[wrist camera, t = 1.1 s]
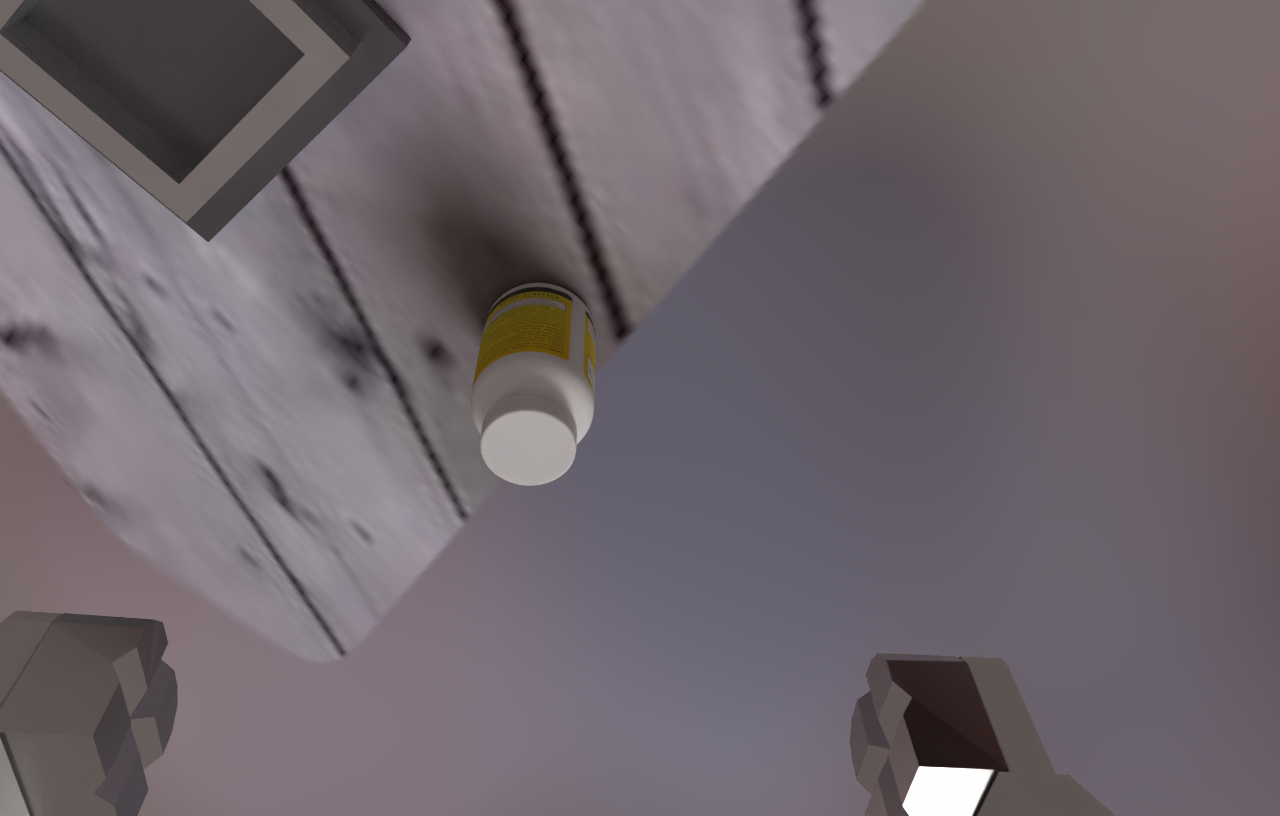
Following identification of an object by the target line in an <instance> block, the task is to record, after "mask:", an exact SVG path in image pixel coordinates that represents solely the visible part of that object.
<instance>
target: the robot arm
mask: <svg viewBox="0 0 1280 816" xmlns="http://www.w3.org/2000/svg"><path fill="white" fill-rule="evenodd" d="M167 645H168V640H167V636H166V632H165V629H164V625H163V622H161V621H157V620H151V619H137V618H123V617H109V616H95V615H81V614H68V613H67V614H66V613H64V614H60V613H59V614H58V613H44V612H30V611H29V612H28V611H15V612H14V613H12V614H11V615H10V616H8V617H7V618H5V619H4V620H3V621H2V622H1V623H0V816H138V813H139V811H140V809H141V806H142V804H143V802H144V799H145V797H146V795H147V792H148V786H147V782H146V778H145V773H144V769H145V768H146V767H148V766H149V765H150V764H151V763H153V762H154V761H155V760H157V759H158V758H159V757H160V756H162V755H163V754H164V751H165V748H166V746H167V743H168V741H169V738H170V736H171V733H172V730H173V725H174V720H175V715H176V710H177V681H176V676H175V671H174V670H173V669H172V668H171V667H170V666H169V665H167V664H166V663H165V662H164V661H163V660H161V658H162V656H163V653H164V651H165V649H166V647H167ZM866 677H867V681H868V684H869V688H870V691H869V692H868V693H866V694H865V695H864V696H862V697H861V698H859V699H858V700H857V702H856V706H855V709H854V713H853V716H852V720H851V735H850V746H851V756H852V762H853V766H854V771H855V776H856V780H857V781H858V782H859V783H860V784H862V786H863V787H864V788H865V789H866V790H867V791H868V792H869V793H870V794H871V798H870V801H869V803H868V806H867V809H866V812H865V816H1116V815H1115V814H1114V813H1113V812H1111V811H1110V810H1109V809H1108V808H1107V807H1106V806H1104V805H1103V804H1102V803H1101V802H1100V801H1099V800H1097V799H1096V798H1095V797H1094V796H1093V795H1092V794H1091V793H1089V792H1088V791H1087V790H1086V789H1085V788H1084V787H1082V786H1081V785H1080V784H1079V783H1078V782H1077V781H1075V780H1074V779H1073V778H1072V777H1071V776H1070V775H1063V774H1056V772H1055V769H1054V767H1053V765H1052V763H1051V760H1050V758H1049V756H1048V754H1047V751H1046V749H1045V747H1044V745H1043V742H1042V740H1041V738H1040V736H1039V733H1038V731H1037V729H1036V727H1035V724H1034V722H1033V720H1032V718H1031V716H1030V713H1029V711H1028V709H1027V706H1026V705H1025V702H1024V700H1023V697H1022V695H1021V693H1020V691H1019V689H1018V686H1017V684H1016V682H1015V679H1014V677H1013V675H1012V673H1011V670H1010V668H1009V666H1008V665H1007V664H1006V663H1005V662H1004V661H1003V660H1002V659H1001V658H982V657H955V656H941V655H913V654H884V653H877V654H876V655H875V657H874V658H873V659H872V660H871V662H870V665H869V667H868V670H867V673H866Z"/></svg>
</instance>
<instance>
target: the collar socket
mask: <svg viewBox="0 0 1280 816" xmlns="http://www.w3.org/2000/svg"><path fill="white" fill-rule="evenodd" d="M410 40H411V39H410V38H409V36H408V35H407V34H406V33H405V32H404V31H403V30H402V29H401V28H400V27H399V26H398V25H397V24H396V23H395V22H394V21H393V20H392V19H391V18H390V17H389V16H388V15H387V14H386V13H385V11H384V10H383V9H382V8H381V7H380V6H379V5H378V4H377V3H376V2H375V1H374V0H0V71H1V72H2V73H4V74H5V75H6V76H7V77H8V78H10V79H11V80H12V81H13V82H14V83H16V84H17V85H18V86H19V87H21V88H22V89H23V90H24V91H25V92H27V93H28V94H29V95H30V96H31V97H33V98H34V99H35V100H36V101H38V102H39V103H40V104H41V105H42V106H44V107H45V108H46V109H47V110H48V111H50V112H51V113H52V114H53V115H55V116H56V117H57V118H58V119H59V120H61V121H62V122H63V123H64V124H65V125H67V126H68V127H69V128H70V129H72V130H73V131H74V132H75V133H76V134H78V135H79V136H80V137H81V138H82V139H84V140H85V141H86V142H87V143H89V144H90V145H91V146H92V147H93V148H95V149H96V150H97V151H98V152H99V153H101V154H102V155H103V156H104V157H106V158H107V159H108V160H109V161H110V162H112V163H113V164H114V165H115V166H116V167H118V168H119V169H120V170H121V171H123V172H124V173H125V174H126V175H127V176H129V177H130V178H131V179H132V180H133V181H135V182H136V183H137V184H138V185H140V186H141V187H142V188H143V189H144V190H146V191H147V192H148V193H149V194H150V195H152V196H153V197H154V198H155V199H157V200H158V201H159V202H160V203H161V204H163V205H164V206H165V207H166V208H167V209H169V210H170V211H171V212H172V213H174V214H175V215H176V216H177V217H178V218H180V219H181V220H182V221H183V222H184V223H186V224H187V225H188V226H189V227H191V228H192V229H193V230H194V231H195V232H197V233H198V234H199V235H200V236H201V237H203V238H204V239H205V240H206V241H208V242H209V241H210V240H211V239H212V238H213V237H214V236H215V235H216V234H217V233H218V232H219V231H220V230H221V229H222V228H223V227H224V226H225V225H226V224H227V223H228V222H229V221H230V220H231V219H232V218H233V217H234V216H235V215H236V214H237V213H238V212H239V211H240V210H241V209H242V208H243V207H245V206H246V205H247V204H248V203H249V202H250V201H251V200H252V199H253V198H254V197H255V196H256V195H257V194H258V193H259V192H260V191H261V190H262V189H263V188H264V187H265V186H266V185H267V184H268V183H269V182H270V181H271V180H272V179H273V178H274V177H275V176H276V175H277V174H278V173H279V172H280V171H281V170H282V169H283V168H284V167H285V166H286V165H287V164H288V163H289V162H290V161H291V160H292V159H293V158H294V157H295V156H296V155H297V154H298V153H299V152H300V151H301V150H302V149H303V148H304V147H305V146H306V145H307V144H309V143H310V142H311V141H312V140H313V139H314V138H315V137H316V136H317V135H318V134H319V133H320V132H321V131H322V130H323V129H324V128H325V127H326V126H327V125H328V124H329V123H330V122H331V121H332V120H333V119H334V118H335V117H336V116H337V115H338V114H339V113H340V112H341V111H342V110H343V109H344V108H345V107H346V106H347V105H348V104H349V103H350V102H351V101H352V100H353V99H354V98H355V97H356V96H357V95H358V94H359V93H360V92H361V91H362V90H363V89H364V88H365V87H366V86H367V85H368V84H369V83H370V82H371V81H373V80H374V79H375V78H376V77H377V76H378V75H379V74H380V73H381V72H382V71H383V70H384V69H385V68H386V67H387V66H388V65H389V64H390V63H391V62H392V61H393V60H394V59H395V58H396V57H397V56H398V55H399V54H400V53H401V52H402V51H403V50H404V49H405V48H406V47H407V45H408V44H409V42H410Z"/></svg>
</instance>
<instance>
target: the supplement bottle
mask: <svg viewBox="0 0 1280 816" xmlns="http://www.w3.org/2000/svg"><path fill="white" fill-rule="evenodd" d="M594 386H595V327H594V322H593V319H592V316H591V314H590V312H589V310H588V308H587V307H586V306H585V304H584V303H583V302H582V301H581V300H580V299H579V298H578V297H577V296H576V295H574V294H573V293H571V292H570V291H568V290H566V289H564V288H562V287H559V286H556V285H552V284H547V283H529V284H524V285H520V286H517V287H515V288H513V289H511V290H509V291H507V292H506V293H504V294H503V295H502V296H501V297H500V298H499V299H498V300H497V301H496V302H495V303H494V304H493V306H492V307H491V309H490V311H489V313H488V315H487V318H486V321H485V324H484V330H483V335H482V340H481V346H480V351H479V356H478V361H477V367H476V372H475V377H474V382H473V387H472V395H471V412H472V417H473V421H474V423H475V425H476V427H477V429H478V431H479V433H480V434H481V438H480V451H481V455H482V457H483V460H484V462H485V463H486V465H487V466H488V467H489V469H490V470H491V471H492V472H494V473H495V474H496V475H497V476H499V477H501V478H502V479H504V480H507V481H509V482H512V483H516V484H520V485H540V484H544V483H548V482H550V481H553V480H555V479H557V478H558V477H560V476H561V475H563V474H564V473H565V472H566V471H567V470H568V469H569V467H570V466H571V464H572V462H573V460H574V458H575V454H576V445H577V443H579V441H580V440H581V439H582V438H583V437H584V436H585V434H586V433H587V431H588V429H589V427H590V425H591V422H592V418H593V412H594Z"/></svg>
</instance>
